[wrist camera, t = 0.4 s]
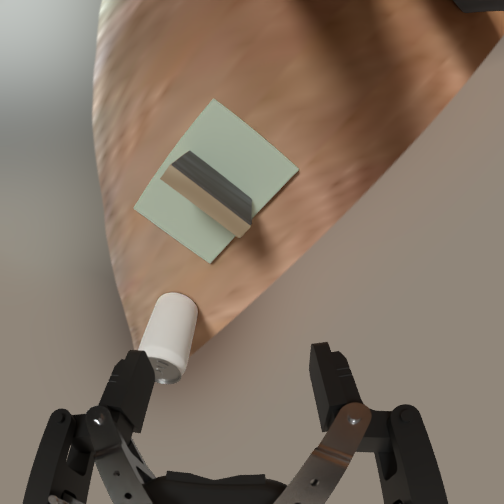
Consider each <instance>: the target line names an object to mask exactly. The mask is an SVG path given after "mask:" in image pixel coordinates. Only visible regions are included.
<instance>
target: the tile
mask: <svg viewBox="0 0 504 504" xmlns="http://www.w3.org/2000/svg"><path fill="white" fill-rule="evenodd" d="M160 179H161V180H162V181H164V182H165V183H166V184H168V185H169V186H170V187H172V188H173V189H174V190H176V191H177V192H178V193H180V194H181V195H182V196H184V197H185V198H186V199H188V200H189V201H190V202H192V203H193V204H194V205H196V206H197V207H198V208H200V209H201V210H202V211H204V212H205V213H206V214H208V215H209V216H210V217H212V218H213V219H214V220H216V221H217V222H218V223H220V224H221V225H222V226H223V227H225V228H226V229H227V230H229V231H230V232H231V233H233V234H234V235H235V236H237V237H238V238H239V239H240V238H241V237H242V236H243V234H244V233H245V232H246V231H247V230H248V229H249V228H250V227H251V224H252V199H251V198H250V197H249V196H248V195H246V194H245V193H244V192H243V191H241V190H240V189H239V188H238V187H236V186H235V185H234V184H233V183H231V182H230V181H229V180H228V179H226V178H225V177H224V176H222V175H221V174H220V173H219V172H217V171H216V170H215V169H213V168H212V167H211V166H210V165H208V164H207V163H206V162H204V161H203V160H202V159H200V158H199V157H198V156H197V155H195V154H194V153H193V152H191V151H190V150H189V151H188V152H186V153H185V154H183V155H182V156H181V157H179V158H178V159H177V160H175V161H174V162H173V163H171V164H170V165H169V167H168V168H167V169H166V171H165V172H164V174H163V175H162V177H161V178H160Z"/></svg>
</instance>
